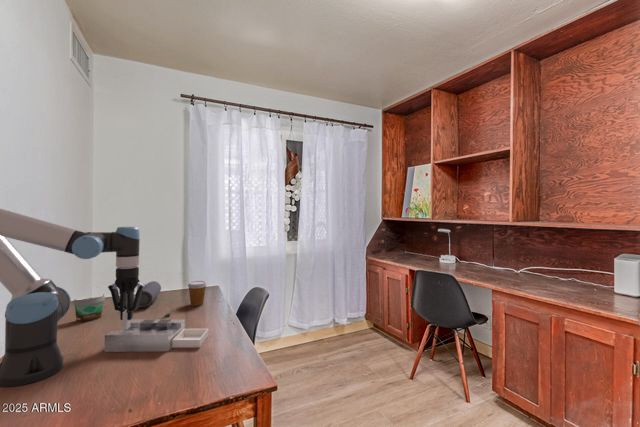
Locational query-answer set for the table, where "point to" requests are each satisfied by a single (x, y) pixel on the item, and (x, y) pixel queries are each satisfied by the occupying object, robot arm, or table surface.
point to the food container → (88, 309)
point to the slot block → (142, 337)
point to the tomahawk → (165, 316)
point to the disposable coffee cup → (197, 292)
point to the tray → (190, 338)
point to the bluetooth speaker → (149, 293)
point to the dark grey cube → (163, 325)
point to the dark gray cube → (148, 325)
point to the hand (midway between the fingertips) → (126, 328)
